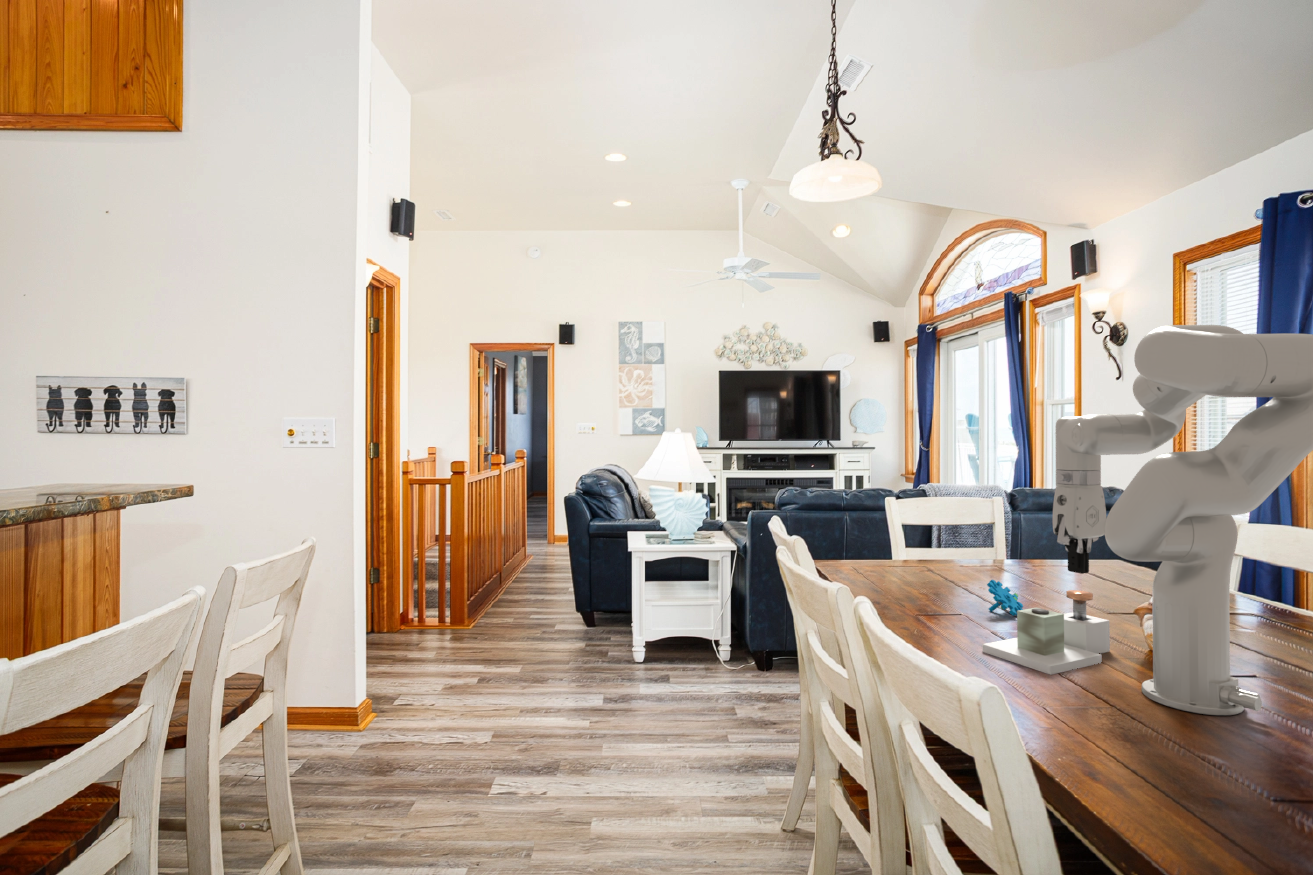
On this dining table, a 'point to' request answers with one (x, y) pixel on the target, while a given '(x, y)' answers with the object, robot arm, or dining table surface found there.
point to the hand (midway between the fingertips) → (1078, 571)
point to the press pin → (1079, 603)
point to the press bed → (1078, 647)
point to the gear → (1004, 598)
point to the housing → (1040, 631)
